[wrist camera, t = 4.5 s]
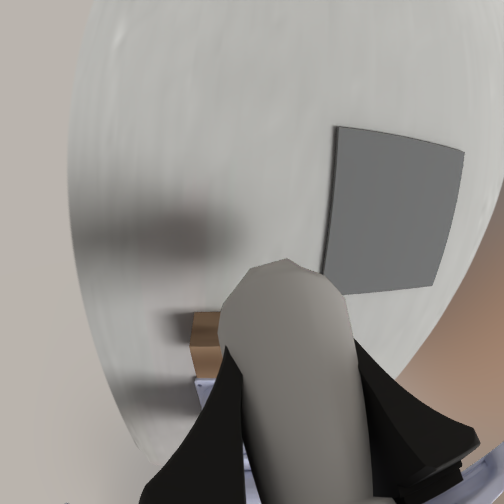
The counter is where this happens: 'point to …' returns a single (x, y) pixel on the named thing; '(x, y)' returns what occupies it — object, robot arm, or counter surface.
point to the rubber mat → (389, 211)
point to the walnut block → (206, 344)
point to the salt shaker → (299, 387)
